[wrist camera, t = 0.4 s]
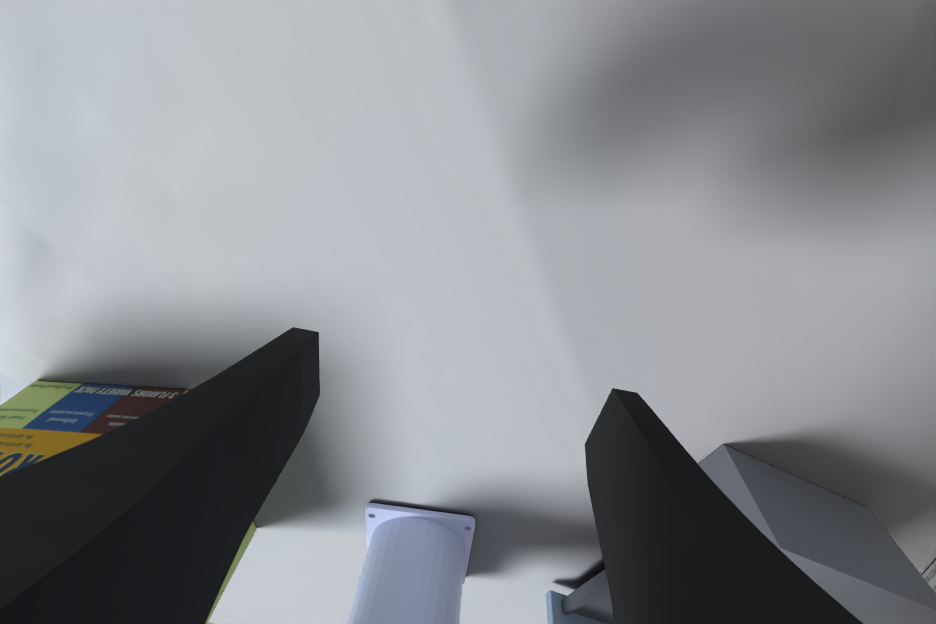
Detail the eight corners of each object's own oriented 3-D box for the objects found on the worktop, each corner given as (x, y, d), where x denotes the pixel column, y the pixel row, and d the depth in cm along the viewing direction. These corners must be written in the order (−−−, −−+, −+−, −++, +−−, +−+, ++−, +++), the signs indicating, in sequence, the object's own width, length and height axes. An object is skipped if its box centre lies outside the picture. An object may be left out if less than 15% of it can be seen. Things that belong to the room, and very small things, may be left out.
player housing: (736, 580, 32) (779, 680, 27) (609, 533, 30) (630, 631, 25) (868, 508, 26) (954, 617, 21) (723, 444, 24) (780, 548, 19)
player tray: (662, 632, 36) (681, 703, 32) (545, 593, 34) (550, 664, 30) (763, 580, 30) (801, 658, 26) (630, 529, 28) (650, 606, 24)
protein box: (189, 384, 25) (-151, 744, 12) (259, 528, 34) (101, 835, 20) (31, 376, 26) (-450, 708, 13) (137, 519, 34) (-91, 809, 21)
